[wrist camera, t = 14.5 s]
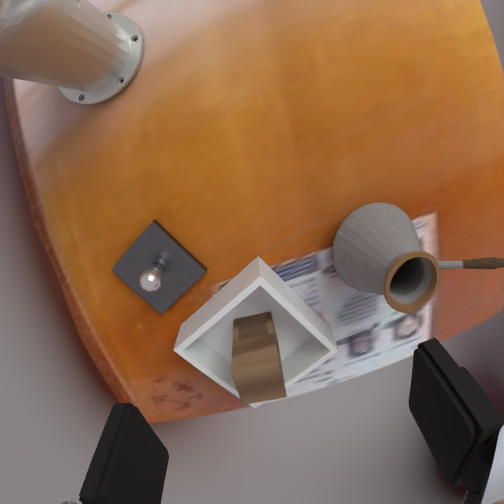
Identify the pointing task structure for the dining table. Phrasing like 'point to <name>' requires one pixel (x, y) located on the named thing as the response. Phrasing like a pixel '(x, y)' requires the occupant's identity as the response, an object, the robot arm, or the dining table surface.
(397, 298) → the coffee pot
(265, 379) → the walnut post
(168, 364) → the dining table surface
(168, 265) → the stud plate
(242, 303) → the grey bin
